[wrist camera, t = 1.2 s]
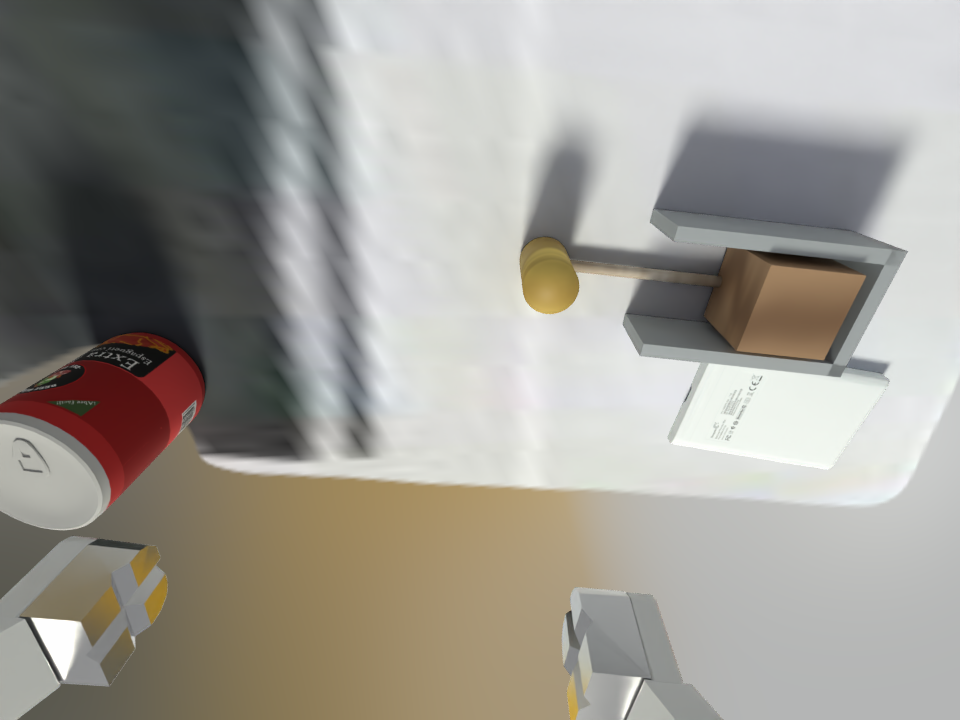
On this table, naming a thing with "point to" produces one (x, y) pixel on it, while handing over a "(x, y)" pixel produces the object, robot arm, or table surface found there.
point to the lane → (835, 244)
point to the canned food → (93, 429)
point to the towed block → (724, 294)
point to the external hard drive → (776, 413)
